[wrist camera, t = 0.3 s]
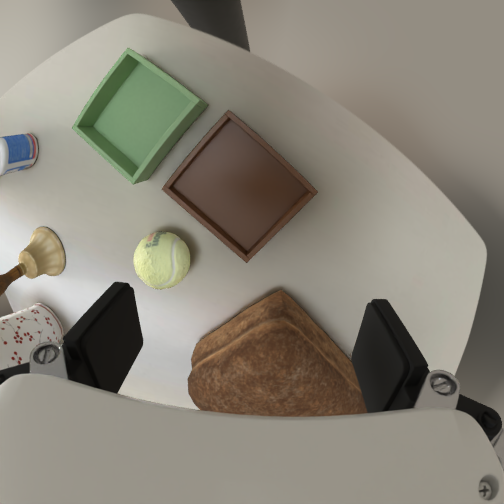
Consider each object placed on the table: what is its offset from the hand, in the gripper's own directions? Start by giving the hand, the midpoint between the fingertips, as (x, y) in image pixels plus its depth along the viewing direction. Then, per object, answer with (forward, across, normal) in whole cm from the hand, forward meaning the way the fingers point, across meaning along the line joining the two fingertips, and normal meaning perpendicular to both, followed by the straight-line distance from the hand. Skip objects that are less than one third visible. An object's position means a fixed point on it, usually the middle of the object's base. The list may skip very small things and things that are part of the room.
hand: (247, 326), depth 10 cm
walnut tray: (+22, +2, -2) cm, 23 cm away
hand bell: (+23, +33, +8) cm, 41 cm away
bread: (+23, -7, +26) cm, 35 cm away
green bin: (+22, +14, -10) cm, 28 cm away
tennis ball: (+23, +11, +6) cm, 26 cm away
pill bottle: (+22, +35, -8) cm, 42 cm away
